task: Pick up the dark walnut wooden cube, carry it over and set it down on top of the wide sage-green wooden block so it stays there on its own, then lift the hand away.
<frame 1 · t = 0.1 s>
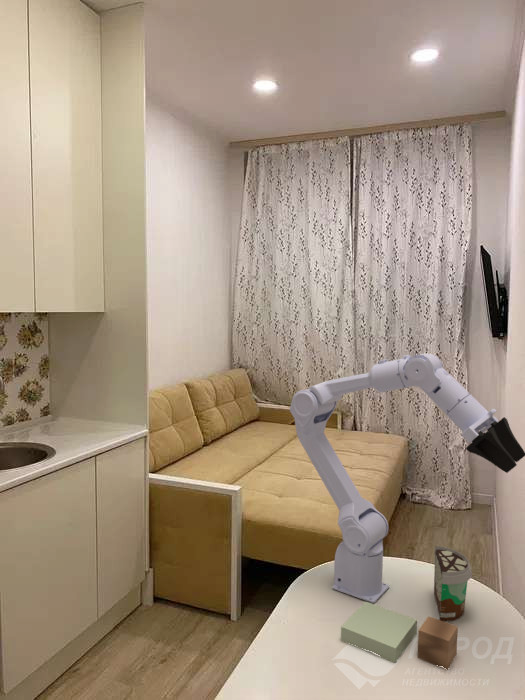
hand: (516, 463, 91), 32 cm above the table, tool tilted 50°, fingers open, 7 cm apart
sage base block: (379, 639, 94), on the table
food container: (453, 610, 104), on the table
walnut cube: (437, 656, 89), on the table
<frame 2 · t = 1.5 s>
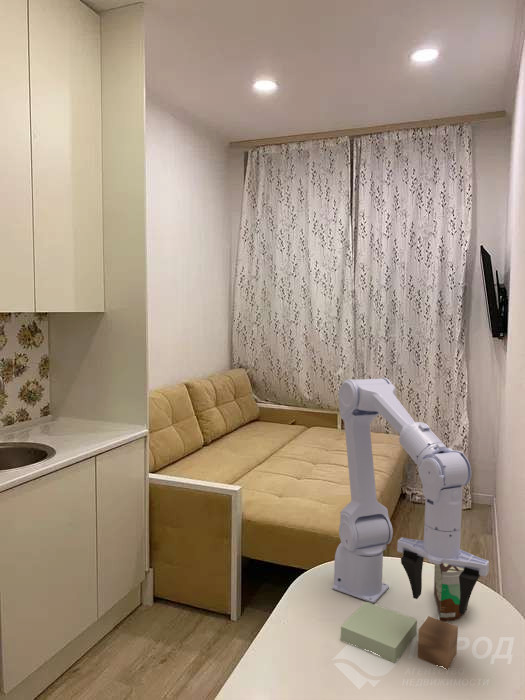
hand: (439, 603, 89), 9 cm above the table, tool pointing down, fingers open, 7 cm apart
nothing on the table moved.
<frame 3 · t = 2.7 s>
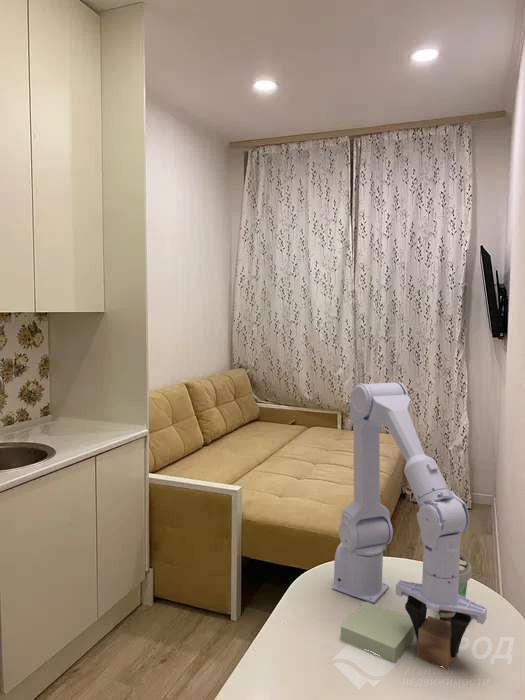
hand: (437, 647, 89), 1 cm above the table, tool pointing down, fingers closed on walnut cube, 5 cm apart
walnut cube: (437, 655, 89), on the table, touching gripper
everything else where it was.
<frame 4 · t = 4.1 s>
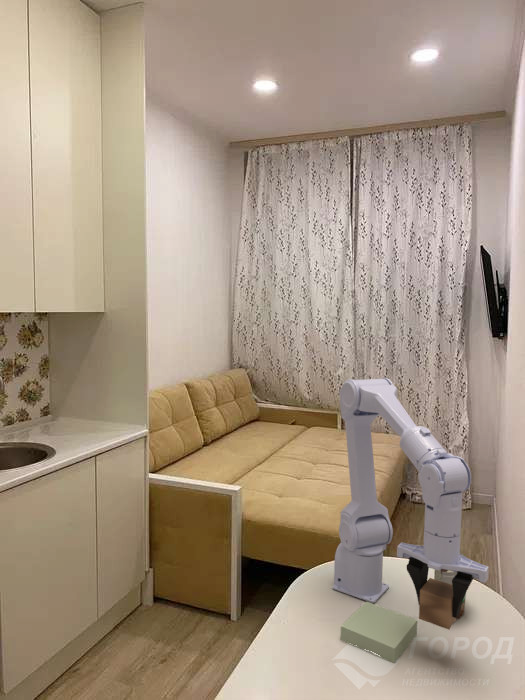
hand: (439, 608, 89), 8 cm above the table, tool pointing down, fingers closed on walnut cube, 5 cm apart
walnut cube: (438, 617, 89), point 7 cm above the table, touching gripper
everything else where it was.
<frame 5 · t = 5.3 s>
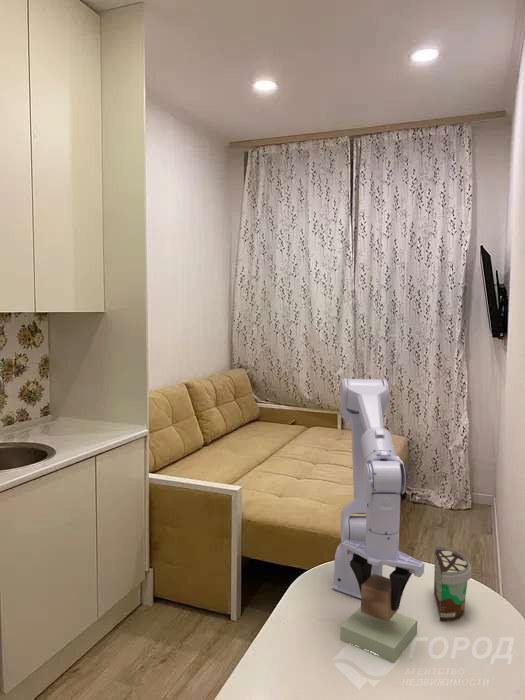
hand: (380, 602, 94), 6 cm above the table, tool pointing down, fingers closed on walnut cube, 5 cm apart
walnut cube: (379, 610, 94), point 5 cm above the table, touching gripper
everything else where it was.
when the fingers open (6 cm above the table, at t = 5.9 s): walnut cube drops 2 cm, resting on sage base block.
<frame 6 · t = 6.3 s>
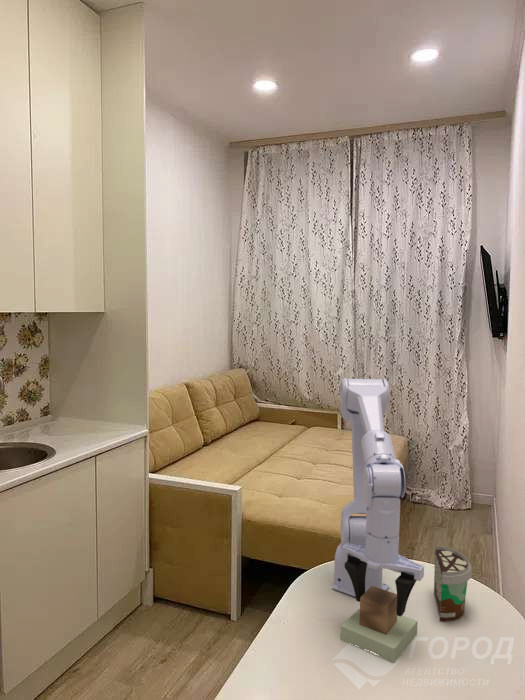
hand: (380, 605, 94), 6 cm above the table, tool pointing down, fingers open, 7 cm apart
sage base block: (379, 639, 94), on the table, touching walnut cube
walnut cube: (378, 622, 94), point 2 cm above the table, touching sage base block
everything else where it was.
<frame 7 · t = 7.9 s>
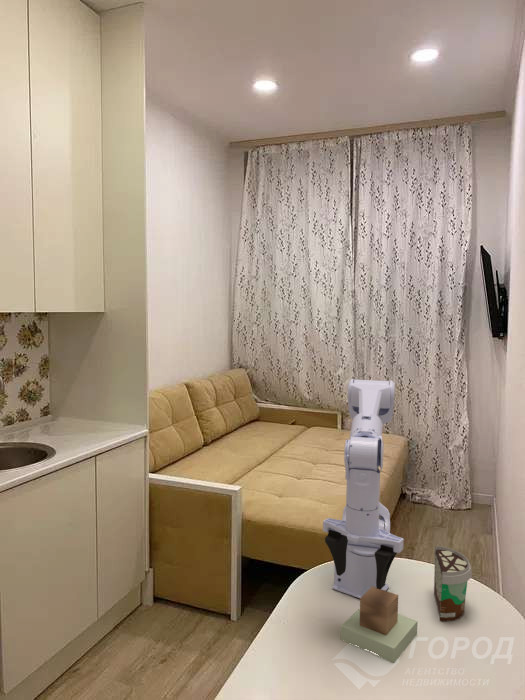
hand: (360, 579, 94), 10 cm above the table, tool pointing down, fingers open, 7 cm apart
nothing on the table moved.
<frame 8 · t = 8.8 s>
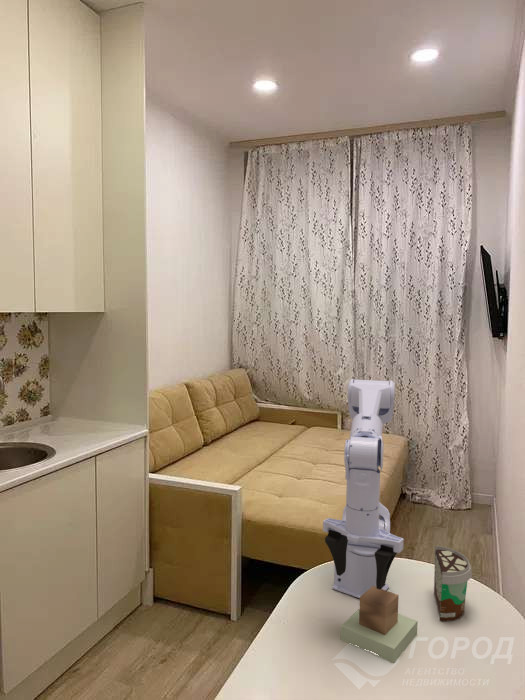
hand: (360, 579, 94), 10 cm above the table, tool pointing down, fingers open, 7 cm apart
sage base block: (379, 639, 94), on the table
walnut cube: (378, 623, 94), point 2 cm above the table
everything else where it was.
at the end: walnut cube 0.1 cm off-centre on the sage base block, point 3.1 cm above the sage base block's base; walnut cube tilted 0°; the gripper is holding nothing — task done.
